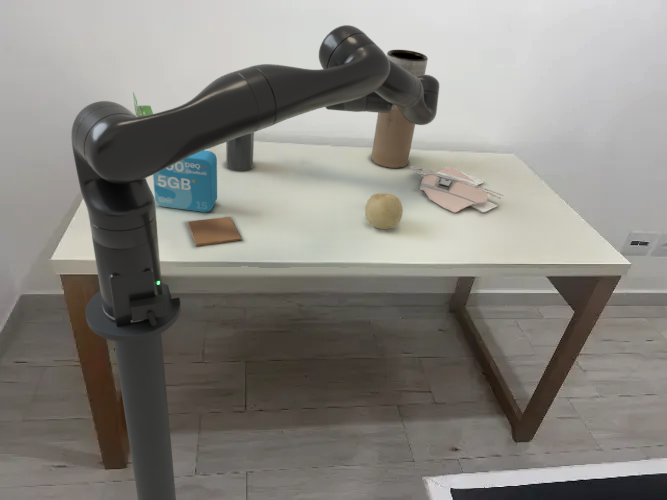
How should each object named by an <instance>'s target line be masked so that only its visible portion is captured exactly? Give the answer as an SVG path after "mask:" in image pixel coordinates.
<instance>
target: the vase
mask: <svg viewBox="0 0 667 500" xmlns="http://www.w3.org/2000/svg"><path fill="white" fill-rule="evenodd" d="M386 56H387V58H388V59H389V60H391V61H393V62H394V63H396V64H397V65H399V66H401V67H402V68H404V69H406V70H407V71H409V72H410V73H412V74H413V75H415V76H418V75H426V71H427V67H428V66H427V65H428V60H429V58H428V56H427V55H426V54H424V53H422V52H418V51H415V50H409V49H391V50H388V51H387V52H386ZM376 116H377V118H376V124H375V131H374V136H373V137H374V138H373V143H372V150H371V160H372V162H373V163H375V164H376V165H378V166H382V167H384V168H387V169H388V168H390V169H401V168H404V167H406V166H407V165H408V163H409V159H410V154H411V148H412V145H413V144H412V142H413V139H414V138H413V137H414V133H415V128H416V124H413V123H411V122H409V121H408V120H406V119H405V118H404V117H403V115H402V114H401V113H400V111H399V109H398V108H397V106H396V105H394V107H393V109H392V111H391V112H389V113H377V115H376Z"/></svg>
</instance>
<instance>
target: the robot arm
mask: <svg viewBox="0 0 667 500" xmlns="http://www.w3.org/2000/svg"><path fill="white" fill-rule="evenodd" d="M318 61H319V64H320V66H321V69H311V68H302V67H297V66H289V65H283V64H271V63H264V64H263V63H262V64H254V65H251V66H249V67H245V68H242V69H238V70H234V71H231V72H229V73H226V74H224V75H221V76H219V77H217V78H215V79H214V80H213V81H211V83H209V84H208V85H206V86H205V87H204V88H203V89H201V91H199V93H197V95H195V96H194V97H193V98H192V99H190V100H189V101H187V102H186V103H184V104H181V105H178V106H176V107H174V108H170V109H166V110H164V111H159V112H156V113H153V114H151V115H146V116H141V117H137V116H136V114H135V113H134V112H133V111H131V110H130V109H129V108H128V107H126V106H123V104H120V103H117V102H115V101H111V100H100V101H95V102H92V103H89V104H88V105H85V107H83V108H82V109H81V110H80V111H79V112H78V114H77V115H76V117H75V119H74V121H73V123H72V126H71V135H70V137H71V138H70V139H71V147H72V154H73V159H74V164H75V170H76V175H77V181H78V184H79V189H80V193H81V196H82V199H83V201H84V204H85V206H86V209H87V214H88V219H89V226H90V232H91V240H92V246H93V252H94V253H93V254H94V258H95V263H96V264H95V265H96V271H97V277H98V284H99V291H101V296H102V302H103V312H104V314H105V316H106V317H107V318H108V319H109V320H111V321H113V322H115V323H116V326H117V327H120V326H126V325H132V324H138V323H143V322H149V321H150V324H151V325H152V326H155V325H156V323H157V322H156V320H157V319H158V317H162V316H167V302H166V299H165V295H164V294H163V292H162V283H163V282H162V270H161V259H160V247H159V236H158V223H157V210H156V209H157V208H156V201H155V195H154V194H153V192H152V190H151V187H150V186H149V183H148V181H147V178H150V177H151V176H153V174H155V173H157V172H159V171H161V170H163V169H165V168H167V167H169V166H171V165H173V164H175V163H177V162H179V161H181V160H183V159H185V158H187V157H189V156H191V155H194V154H196V153H198V152H201V151H203V150H205V151H207V150H209V149H212V148H214V147H217V146H219V145H220V146H221V145H222V144H224V143H226V142H227V141H230V140H232V139H235V138H237V137H240V136H243V135H247V134H250V133H253V132H254V133H256V132H259V131H261V130H264V129H267V128H270V127H272V126H275V125H277V124H279V123H281V122H283V121H286V120H289V119H291V118H294V117H298V116H300V115H304V114H306V113H310V112H312V111H316V110H319V109H323V108H325V109H326V110H329V111H342V112H352V113H360V112H361V113H362V112H365V113H366V112H368V113H377V114H378V113H389V112H391V111H392V109H393V107H394V105H396V106H397V108H398V109H399V111H400V113H401V114H402V115H403V117H404V118H405V119H406V120H408V121H409V122H411V123H413V124H415V126H426V125H429V124H430V123H432V122H433V121H434V120H435V119H436V116H437V111H438V103H439V96H440V95H439V94H440V82H439V80H438V79H437V78H436V77H434V76H433V75H430V74H425V75H418V76H415V75H413V74H412V73H410V72H409V71H407V70H406V69H404V68H402V67H401V66H399V65H397V64H396V63H394V62H393V61H391V60H389V59H388V58H387V54H386V53H385V52H384V50H383V49H382V48H380V46H379V45H377V44H376V43H375V42H374V40H372V39H371V38H370V37H369V36H368V35H367V34H366V33H365V32H364V31H363V30H361V29H360V28H358V27H356V26H354V25H350V24H349V25H348V24H344V25H340V26H338V27H335V28H334V29H332V30H331V31H330V32H329V33H328V34H327V35H326V36H325V37H324V39H323V40H322V42H321V43H320V46H319V50H318Z"/></svg>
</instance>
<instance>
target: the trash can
mask: <svg viewBox="0 0 667 500" xmlns="http://www.w3.org/2000/svg"><path fill="white" fill-rule="evenodd" d="M225 143H226V146H225V147H226V149H225V150H226V155H225V157H226V158H225V159H226V162H225V163H226V167H227V168H228V169H229V170H231V171H235V172H247V171H250V170H251V169H253V167H254V153H255V152H254V149H255V148H254V147H255V145H254V144H255V132H253V133H250V134H247V135H243V136H240V137H237V138H235V139H232V140H230V141H227V142H225Z"/></svg>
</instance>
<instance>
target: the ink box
mask: <svg viewBox="0 0 667 500" xmlns="http://www.w3.org/2000/svg"><path fill="white" fill-rule="evenodd" d="M134 92H135V91H133V92H132V94H133V104H134V114H135V115H136V116H137V117H141V116H146V115H151V114H154V112H153V110H152V107H151V106H152V105H138V99H137V98H136V95H135V93H134Z"/></svg>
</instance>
